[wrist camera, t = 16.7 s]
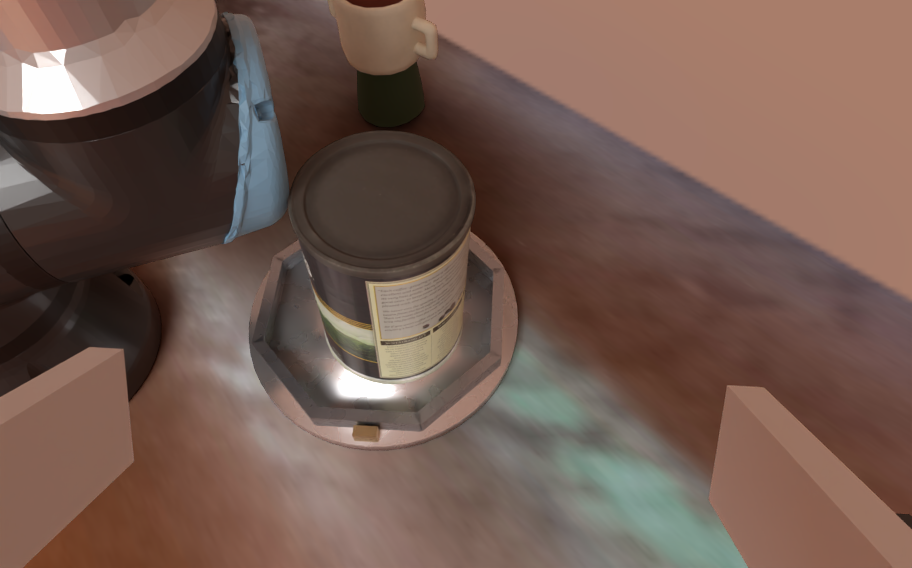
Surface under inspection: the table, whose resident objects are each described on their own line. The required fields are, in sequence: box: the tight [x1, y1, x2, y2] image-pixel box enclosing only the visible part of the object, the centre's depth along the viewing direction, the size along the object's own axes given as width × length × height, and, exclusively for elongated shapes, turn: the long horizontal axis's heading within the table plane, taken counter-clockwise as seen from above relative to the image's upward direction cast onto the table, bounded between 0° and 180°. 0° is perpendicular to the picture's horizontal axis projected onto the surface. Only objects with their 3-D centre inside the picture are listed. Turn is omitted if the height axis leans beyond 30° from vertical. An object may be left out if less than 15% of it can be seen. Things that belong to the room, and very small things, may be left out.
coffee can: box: [288, 130, 476, 384], centre depth 41 cm, size 10×10×14 cm
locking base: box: [249, 231, 518, 450], centre depth 47 cm, size 20×20×2 cm
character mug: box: [328, 0, 438, 127], centre depth 54 cm, size 11×7×13 cm, turn 57°
